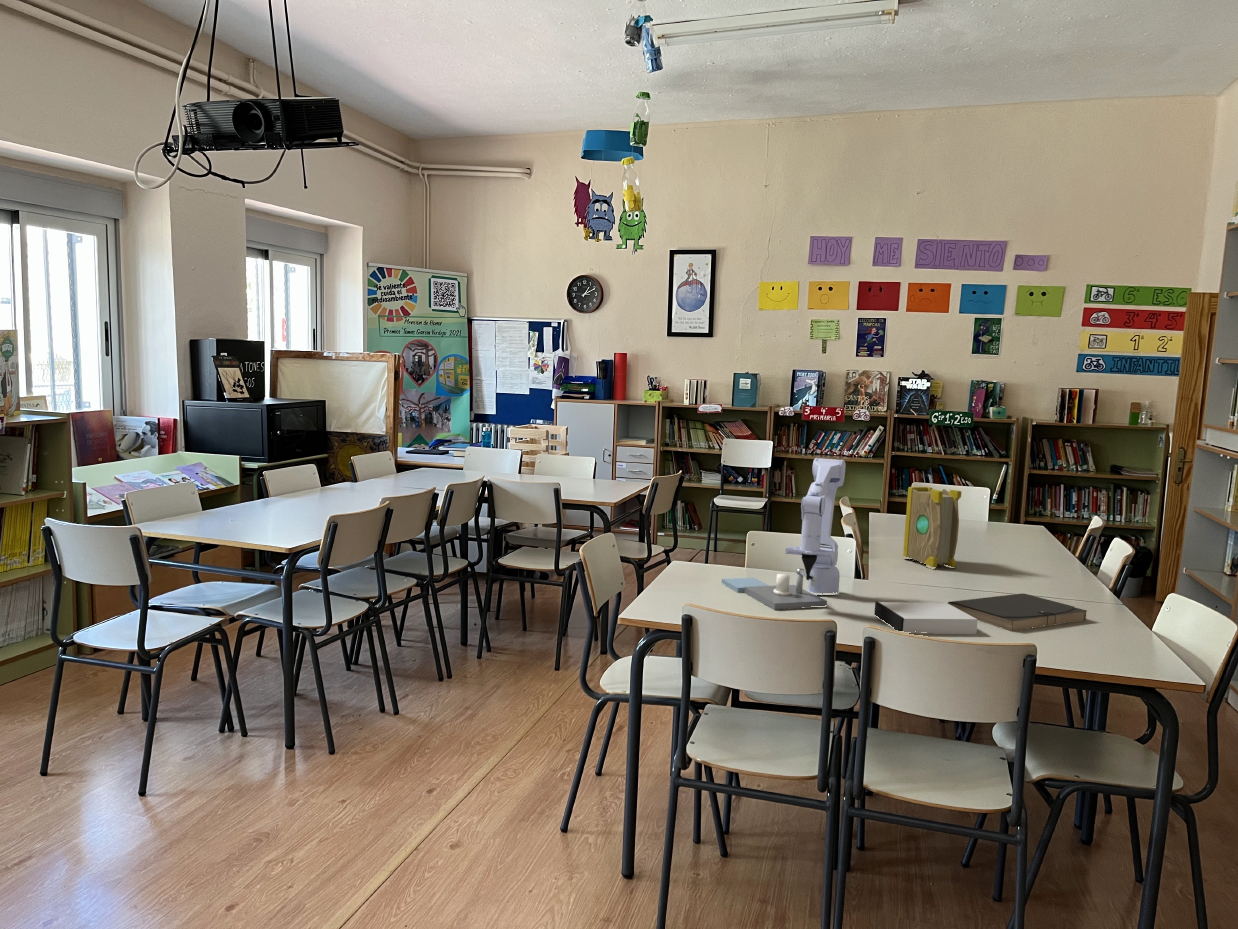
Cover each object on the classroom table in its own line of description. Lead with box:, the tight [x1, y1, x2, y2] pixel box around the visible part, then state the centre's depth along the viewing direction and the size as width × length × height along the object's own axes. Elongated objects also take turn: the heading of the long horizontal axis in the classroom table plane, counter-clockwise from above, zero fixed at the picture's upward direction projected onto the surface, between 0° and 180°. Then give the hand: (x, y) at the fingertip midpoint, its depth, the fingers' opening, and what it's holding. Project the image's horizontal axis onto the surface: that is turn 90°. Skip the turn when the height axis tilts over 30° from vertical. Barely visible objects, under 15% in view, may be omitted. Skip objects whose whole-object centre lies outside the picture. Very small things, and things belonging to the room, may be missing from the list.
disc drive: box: [873, 600, 978, 635], centre depth 242 cm, size 18×22×5 cm
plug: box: [773, 573, 791, 596], centre depth 263 cm, size 5×5×8 cm
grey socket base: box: [743, 573, 828, 611], centre depth 263 cm, size 18×20×8 cm
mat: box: [721, 577, 770, 593], centre depth 278 cm, size 12×12×2 cm
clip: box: [795, 567, 817, 586], centre depth 260 cm, size 12×2×3 cm, turn 11°
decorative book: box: [902, 486, 962, 568], centre depth 325 cm, size 20×11×30 cm, turn 18°
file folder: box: [947, 593, 1088, 632], centre depth 257 cm, size 33×4×24 cm
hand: (807, 579), depth 255 cm, fingers closed, pressing on clip
